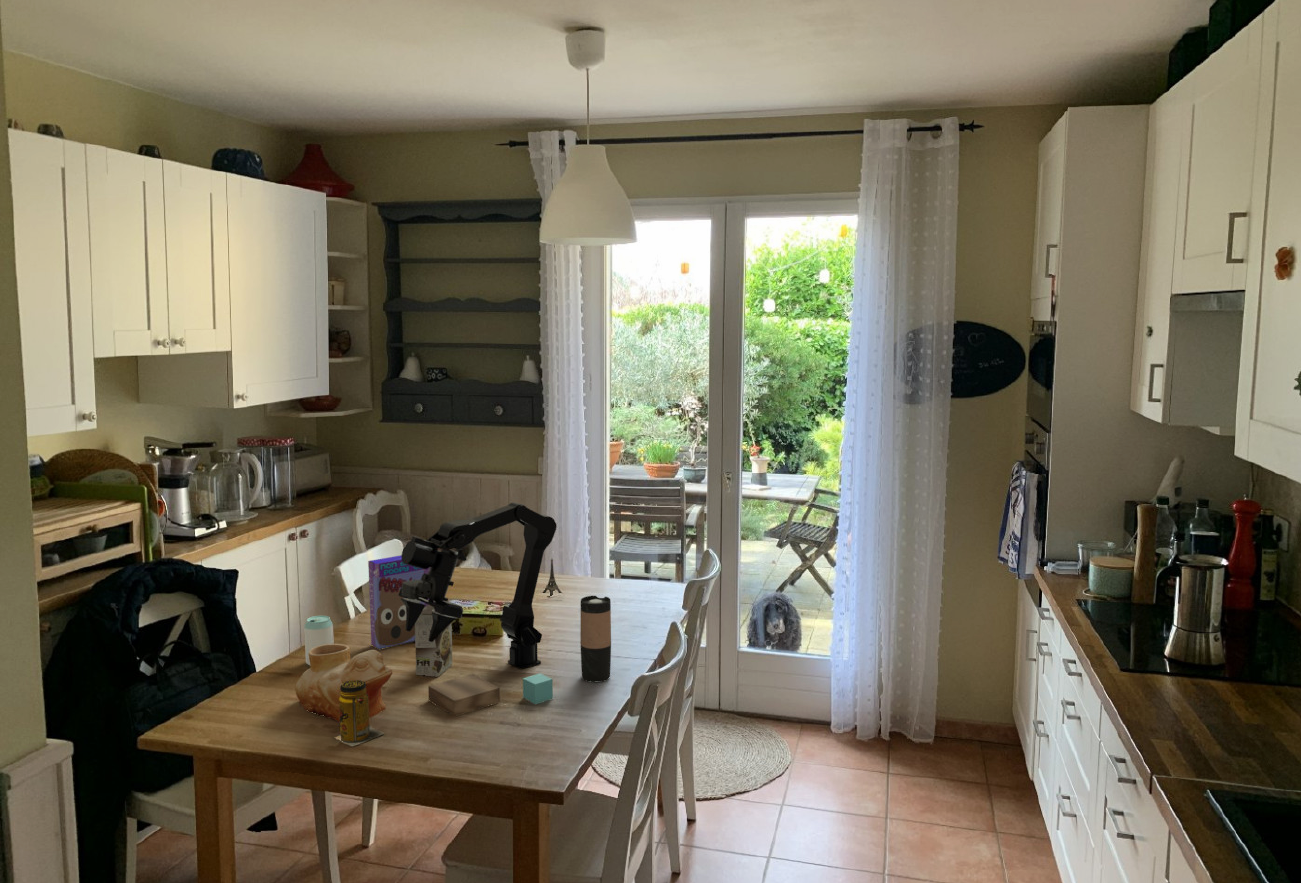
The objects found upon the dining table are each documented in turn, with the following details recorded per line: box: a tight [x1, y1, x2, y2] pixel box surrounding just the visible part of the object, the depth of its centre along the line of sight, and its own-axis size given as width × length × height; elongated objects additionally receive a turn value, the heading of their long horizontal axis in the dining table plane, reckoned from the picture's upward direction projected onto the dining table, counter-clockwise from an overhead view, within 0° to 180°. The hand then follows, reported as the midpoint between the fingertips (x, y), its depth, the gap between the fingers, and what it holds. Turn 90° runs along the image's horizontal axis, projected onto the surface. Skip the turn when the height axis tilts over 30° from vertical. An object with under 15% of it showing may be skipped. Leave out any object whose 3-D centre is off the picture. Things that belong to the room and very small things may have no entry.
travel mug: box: [579, 595, 612, 683], centre depth 245 cm, size 8×8×20 cm
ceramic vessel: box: [294, 643, 393, 723], centre depth 225 cm, size 14×26×15 cm, turn 58°
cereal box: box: [367, 554, 430, 650], centre depth 272 cm, size 17×5×24 cm, turn 131°
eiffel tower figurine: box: [542, 558, 563, 596], centre depth 319 cm, size 15×10×13 cm
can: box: [303, 615, 335, 666], centre depth 255 cm, size 7×7×12 cm
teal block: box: [522, 673, 554, 705], centre depth 232 cm, size 5×5×5 cm
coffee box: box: [414, 605, 453, 678], centre depth 250 cm, size 9×6×16 cm
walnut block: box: [427, 673, 501, 717], centre depth 231 cm, size 12×12×4 cm
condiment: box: [337, 680, 386, 747], centre depth 211 cm, size 7×8×12 cm
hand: (419, 636), depth 236 cm, fingers open, 9 cm apart
